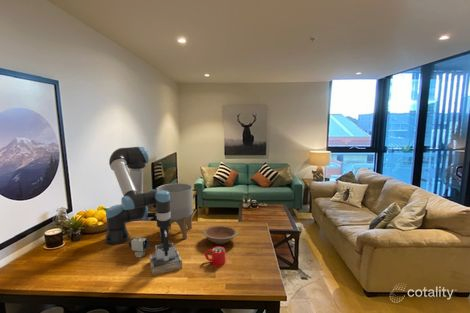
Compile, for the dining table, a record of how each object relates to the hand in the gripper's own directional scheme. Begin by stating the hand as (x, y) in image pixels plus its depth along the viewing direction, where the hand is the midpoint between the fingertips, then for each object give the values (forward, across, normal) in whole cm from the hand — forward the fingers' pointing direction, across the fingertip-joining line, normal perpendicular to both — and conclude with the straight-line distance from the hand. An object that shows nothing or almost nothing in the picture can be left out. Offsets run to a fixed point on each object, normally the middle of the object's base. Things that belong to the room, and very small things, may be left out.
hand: (165, 257), depth 148 cm
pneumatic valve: (+5, -16, -13) cm, 21 cm away
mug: (+5, +8, +27) cm, 29 cm away
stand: (+5, 0, 0) cm, 5 cm away
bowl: (+5, -15, +38) cm, 42 cm away
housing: (0, 0, 0) cm, 0 cm away
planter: (+5, -39, +13) cm, 42 cm away
